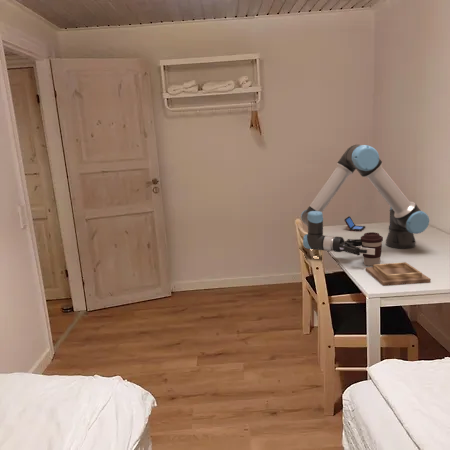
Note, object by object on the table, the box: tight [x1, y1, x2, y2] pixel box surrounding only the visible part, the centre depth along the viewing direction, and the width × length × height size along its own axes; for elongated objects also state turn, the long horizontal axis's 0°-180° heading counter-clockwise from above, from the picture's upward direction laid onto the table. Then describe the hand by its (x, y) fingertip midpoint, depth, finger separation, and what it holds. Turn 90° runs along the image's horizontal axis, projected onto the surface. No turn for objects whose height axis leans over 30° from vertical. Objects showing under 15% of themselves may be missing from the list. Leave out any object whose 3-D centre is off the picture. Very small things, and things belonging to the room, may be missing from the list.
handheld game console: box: [344, 215, 366, 232], centre depth 278 cm, size 12×11×7 cm
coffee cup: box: [360, 231, 384, 267], centre depth 207 cm, size 10×10×15 cm
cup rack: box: [365, 261, 432, 287], centre depth 191 cm, size 20×20×4 cm
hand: (378, 248), depth 205 cm, fingers open, 13 cm apart
